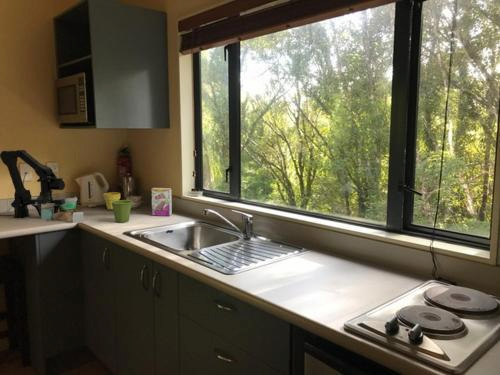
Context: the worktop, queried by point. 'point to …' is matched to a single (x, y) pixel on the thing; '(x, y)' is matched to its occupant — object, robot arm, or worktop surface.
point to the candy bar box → (161, 201)
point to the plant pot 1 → (111, 199)
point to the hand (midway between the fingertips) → (47, 216)
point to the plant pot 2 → (121, 210)
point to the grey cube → (78, 217)
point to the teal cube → (47, 213)
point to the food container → (69, 205)
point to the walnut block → (62, 216)
